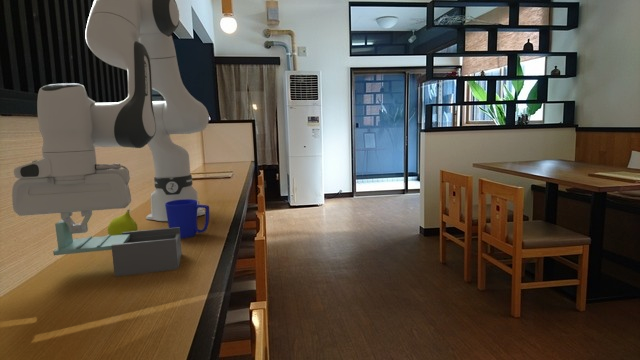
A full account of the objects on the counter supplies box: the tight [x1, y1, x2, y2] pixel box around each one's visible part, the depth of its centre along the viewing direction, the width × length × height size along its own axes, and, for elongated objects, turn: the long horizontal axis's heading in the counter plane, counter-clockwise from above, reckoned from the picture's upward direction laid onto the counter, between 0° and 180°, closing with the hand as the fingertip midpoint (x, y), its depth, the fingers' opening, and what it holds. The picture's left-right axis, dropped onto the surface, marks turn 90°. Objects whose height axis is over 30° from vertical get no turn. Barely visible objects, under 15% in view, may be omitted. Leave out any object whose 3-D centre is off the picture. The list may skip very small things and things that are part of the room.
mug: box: [165, 199, 210, 239], centre depth 103 cm, size 8×12×10 cm
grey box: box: [111, 227, 183, 278], centre depth 82 cm, size 10×12×7 cm
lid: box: [52, 219, 130, 256], centre depth 78 cm, size 8×12×6 cm
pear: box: [107, 207, 139, 236], centre depth 101 cm, size 7×7×10 cm
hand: (78, 232), depth 77 cm, fingers closed
